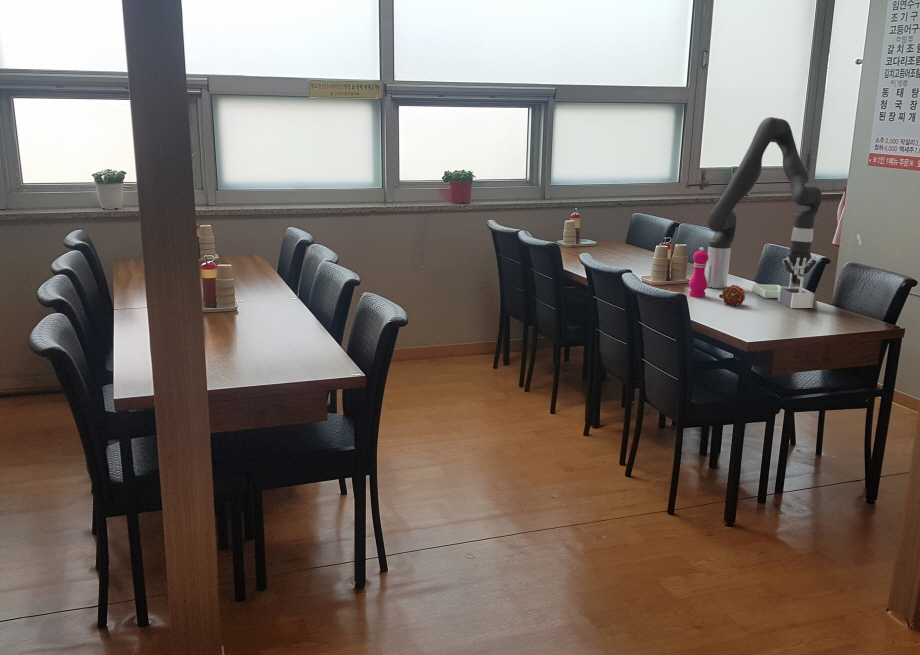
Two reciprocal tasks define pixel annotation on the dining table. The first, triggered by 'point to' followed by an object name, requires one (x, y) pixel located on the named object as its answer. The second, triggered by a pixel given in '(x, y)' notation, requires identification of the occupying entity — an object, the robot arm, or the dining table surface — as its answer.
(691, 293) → the pepper mill
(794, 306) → the bay
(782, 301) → the caddy
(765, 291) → the tray
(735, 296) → the brown scaly oval lump
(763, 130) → the robot arm
